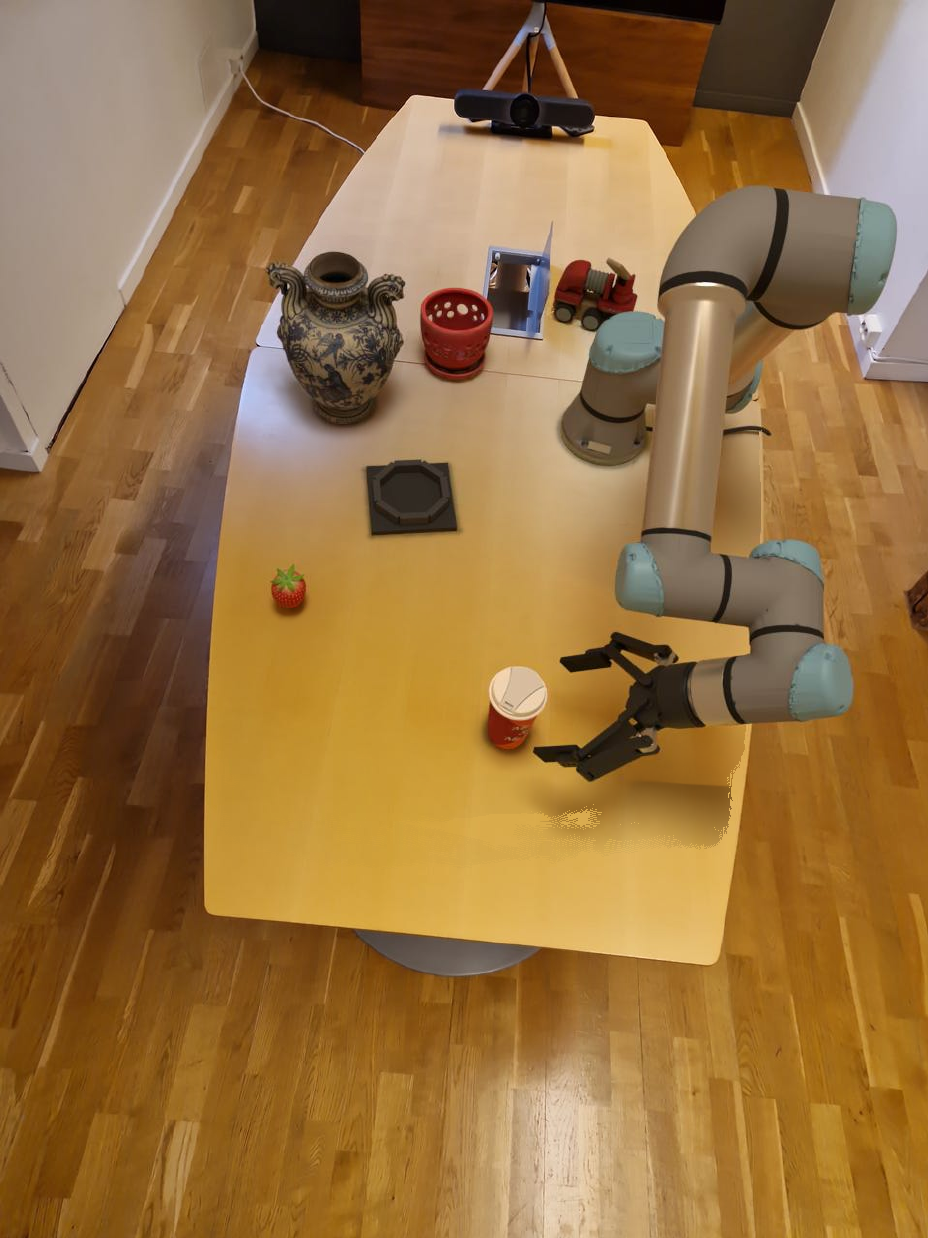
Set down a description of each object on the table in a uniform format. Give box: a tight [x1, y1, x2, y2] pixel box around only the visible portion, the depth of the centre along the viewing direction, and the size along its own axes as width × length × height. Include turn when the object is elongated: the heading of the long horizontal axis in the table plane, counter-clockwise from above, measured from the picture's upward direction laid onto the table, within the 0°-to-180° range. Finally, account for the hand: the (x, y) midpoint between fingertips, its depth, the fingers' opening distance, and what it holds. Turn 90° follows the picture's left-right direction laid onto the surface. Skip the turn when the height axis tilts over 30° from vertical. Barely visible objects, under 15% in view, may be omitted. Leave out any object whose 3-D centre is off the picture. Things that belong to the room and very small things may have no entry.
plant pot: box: [419, 287, 494, 380], centre depth 150 cm, size 13×13×12 cm
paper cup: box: [487, 665, 548, 750], centre depth 111 cm, size 8×8×14 cm
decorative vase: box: [265, 251, 406, 425], centre depth 135 cm, size 21×19×28 cm
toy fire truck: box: [552, 257, 638, 332], centre depth 156 cm, size 11×16×18 cm
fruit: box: [270, 563, 307, 608], centre depth 122 cm, size 5×5×8 cm
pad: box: [365, 459, 458, 536], centre depth 136 cm, size 14×14×3 cm
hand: (552, 708), depth 106 cm, fingers open, 13 cm apart
